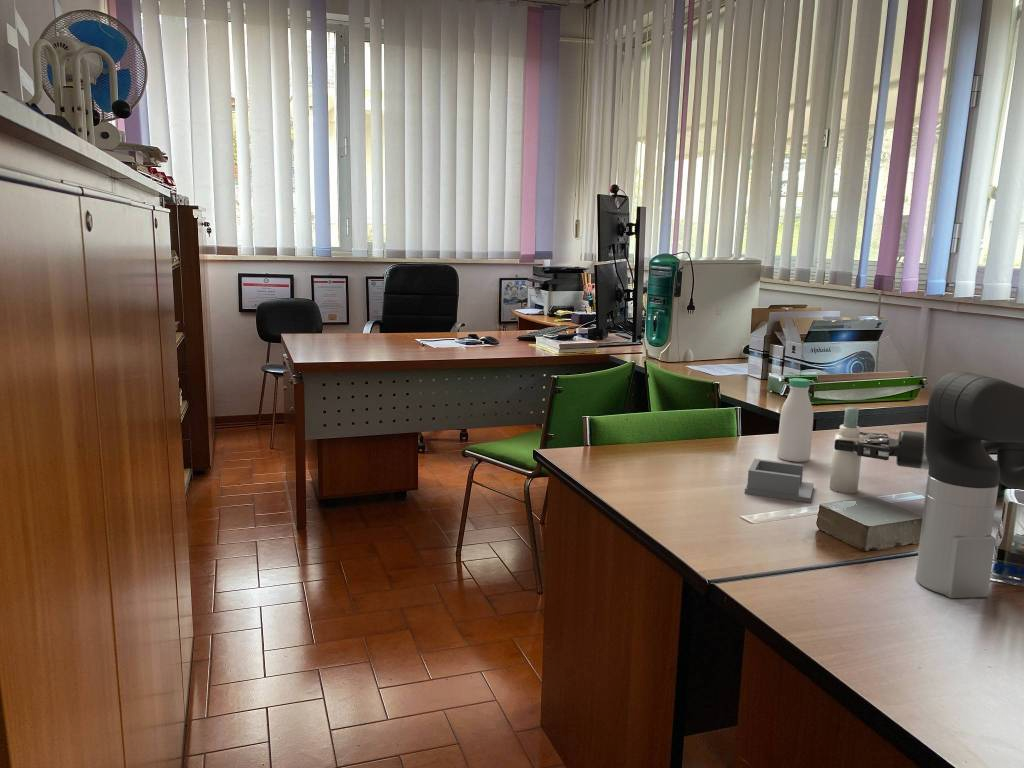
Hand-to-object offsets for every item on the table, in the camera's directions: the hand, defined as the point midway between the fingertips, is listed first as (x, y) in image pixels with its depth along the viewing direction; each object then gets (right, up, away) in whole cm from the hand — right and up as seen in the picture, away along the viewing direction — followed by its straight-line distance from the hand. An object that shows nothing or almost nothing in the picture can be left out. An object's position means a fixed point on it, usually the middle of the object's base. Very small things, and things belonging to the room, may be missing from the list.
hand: (835, 440), depth 160 cm
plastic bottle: (+2, -11, +1) cm, 11 cm away
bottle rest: (-13, -11, 0) cm, 17 cm away
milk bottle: (0, -6, +24) cm, 25 cm away
